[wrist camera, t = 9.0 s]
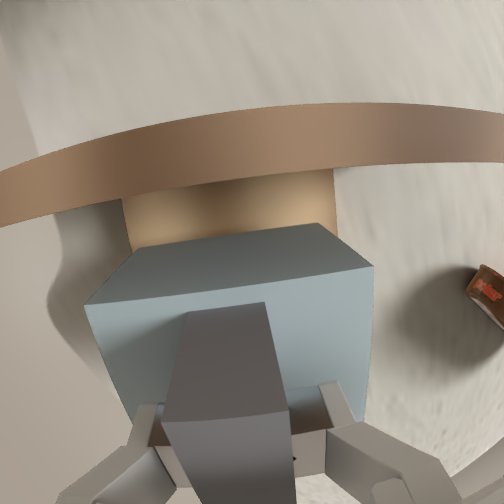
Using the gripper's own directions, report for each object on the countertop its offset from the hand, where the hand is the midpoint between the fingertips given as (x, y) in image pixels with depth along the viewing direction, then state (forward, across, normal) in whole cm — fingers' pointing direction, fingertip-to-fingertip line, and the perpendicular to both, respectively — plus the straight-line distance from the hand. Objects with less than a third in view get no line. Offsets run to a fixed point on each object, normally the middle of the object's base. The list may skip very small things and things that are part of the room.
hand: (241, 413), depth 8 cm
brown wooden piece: (+13, 0, -2) cm, 13 cm away
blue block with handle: (+7, 0, 0) cm, 7 cm away
